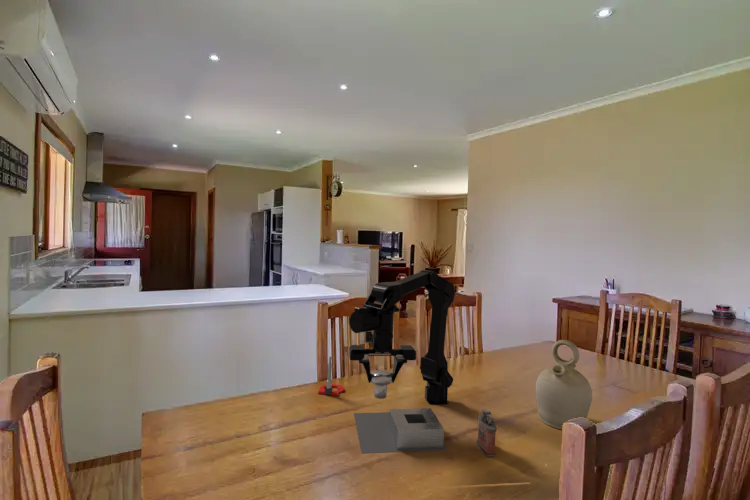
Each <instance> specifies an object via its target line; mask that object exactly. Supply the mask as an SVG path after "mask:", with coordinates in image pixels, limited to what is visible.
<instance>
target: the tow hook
mask: <svg viewBox="0 0 750 500" xmlns="http://www.w3.org/2000/svg"><path fill="white" fill-rule="evenodd" d="M332 365H333V363H332V356H329V357H328V364H327V366H328V367H327V377H326V378H327V380H326V384H322V385H321V386H319V387H318V388H319V389H318V395H323V396H324V395H325V396H329V397H330V396H332V397H338V396H339V395H340V394H342V393H344V391H345V387H344V386H343V385H340V384H335V383H332V368H333V366H332ZM333 388H334V389H336V390H333Z"/></svg>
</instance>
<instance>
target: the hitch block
mask: <svg viewBox="0 0 750 500" xmlns="http://www.w3.org/2000/svg"><path fill="white" fill-rule="evenodd" d="M388 412H389V429H390V432H391V435H392V437H393V440H394V443H395V446H396V448H397V450H404V449H431V448H443V442H444V439H445V438H444V437H445V428H444V426H443V425H442V423H441V422H440V420H439V419H438V417H437V415H436V413H434V410H433V409H432V408H428V407H427V408H426V407H425V408H424V407H423V408H389V410H388Z"/></svg>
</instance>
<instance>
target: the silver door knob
mask: <svg viewBox="0 0 750 500" xmlns="http://www.w3.org/2000/svg"><path fill="white" fill-rule="evenodd" d="M392 375H393V374H392V372H391V371H389V370H387V369H386V370H385V369H375V370H372V371H370V377H371V380H370V383H372V384H374V392H373V397H374V398H375V399H379V400H383V399H386V398H387V397H388V385H390V384H393V383H392Z"/></svg>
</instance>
